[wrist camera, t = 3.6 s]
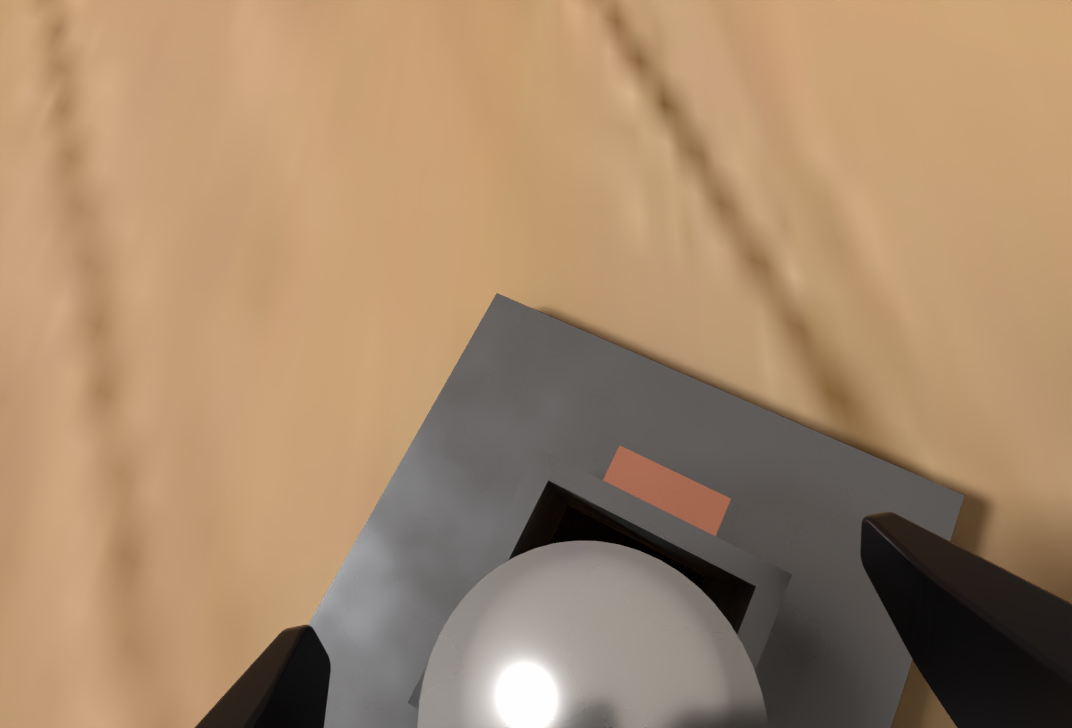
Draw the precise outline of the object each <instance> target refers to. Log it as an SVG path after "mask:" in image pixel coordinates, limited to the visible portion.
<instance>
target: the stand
mask: <svg viewBox="0 0 1072 728" xmlns="http://www.w3.org/2000/svg"><path fill="white" fill-rule="evenodd" d="M964 496H965V495H962V494H960V493H958V492H956V491H953V490H951V489H949V488H946V487H944V486H942V485H939V484H937V483H935V482H932V481H930V480H928V479H925V478H923V477H921V476H919V475H916V474H914V473H912V472H909V471H907V470H905V469H902V468H900V467H898V466H895V465H893V464H891V463H888V462H886V461H884V460H881V459H879V458H877V457H875V456H872V455H870V454H868V453H865V452H863V451H861V450H858V449H856V448H854V447H851V446H849V445H847V444H844V443H842V442H840V441H838V440H835V439H833V438H831V437H828V436H826V435H824V434H821V433H819V432H817V431H814V430H812V429H810V428H807V427H805V426H803V425H801V424H798V423H796V422H794V421H791V420H789V419H787V418H784V417H782V416H780V415H777V414H775V413H773V412H770V411H768V410H766V409H764V408H761V407H759V406H757V405H754V404H752V403H750V402H747V401H745V400H743V399H740V398H738V397H736V396H733V395H731V394H729V393H726V392H724V391H722V390H720V389H717V388H715V387H713V386H710V385H708V384H706V383H703V382H701V381H699V380H696V379H694V378H692V377H689V376H687V375H685V374H683V373H680V372H678V371H676V370H673V369H671V368H669V367H666V366H664V365H662V364H659V363H657V362H655V361H652V360H650V359H648V358H646V357H643V356H641V355H639V354H636V353H634V352H632V351H629V350H627V349H625V348H622V347H620V346H618V345H615V344H613V343H611V342H608V341H606V340H604V339H602V338H599V337H597V336H595V335H592V334H590V333H588V332H585V331H583V330H581V329H578V328H576V327H574V326H571V325H569V324H567V323H565V322H562V321H560V320H558V319H555V318H553V317H551V316H548V315H546V314H544V313H541V312H539V311H537V310H534V309H532V308H530V307H528V306H525V305H523V304H521V303H518V302H516V301H514V300H511V299H509V298H507V297H504V296H502V295H500V294H496V296H495V297H494V299H493V301H492V303H491V304H490V306H489V308H488V310H487V311H486V313H485V315H484V317H483V318H482V320H481V322H480V324H479V325H478V327H477V329H476V331H475V332H474V334H473V336H472V338H471V339H470V341H469V343H468V345H467V347H466V348H465V350H464V352H463V354H462V355H461V357H460V359H459V361H458V362H457V364H456V366H455V368H454V369H453V371H452V373H451V375H450V376H449V378H448V380H447V382H446V383H445V385H444V387H443V389H442V390H441V392H440V394H439V396H438V397H437V399H436V401H435V403H434V405H433V406H432V408H431V410H430V412H429V413H428V415H427V417H426V419H425V420H424V422H423V424H422V426H421V427H420V429H419V431H418V433H417V434H416V436H415V438H414V440H413V441H412V443H411V445H410V447H409V448H408V450H407V452H406V454H405V455H404V457H403V459H402V461H401V463H400V464H399V466H398V468H397V470H396V471H395V473H394V475H393V477H392V478H391V480H390V482H389V484H388V485H387V487H386V489H385V491H384V492H383V494H382V496H381V498H380V499H379V501H378V503H377V505H376V506H375V508H374V510H373V512H372V514H371V515H370V517H369V519H368V521H367V522H366V524H365V526H364V528H363V529H362V531H361V533H360V535H359V536H358V538H357V540H356V542H355V543H354V545H353V547H352V549H351V550H350V552H349V554H348V556H347V557H346V559H345V561H344V563H343V564H342V566H341V568H340V570H339V572H338V573H337V575H336V577H335V579H334V580H333V582H332V584H331V586H330V587H329V589H328V591H327V593H326V594H325V596H324V598H323V600H322V601H321V603H320V605H319V607H318V608H317V610H316V612H315V614H314V615H313V617H312V619H311V621H310V622H309V624H308V625H310V626H311V627H313V629H314V630H315V632H316V634H317V636H318V637H319V639H320V641H321V643H322V645H323V646H324V648H325V650H326V652H327V654H328V656H329V659H330V664H331V673H330V681H329V690H328V698H327V706H326V714H325V723H324V728H418V727H417V726H418V712H419V700H420V695H421V690H422V684H423V679H424V675H425V672H426V668H427V665H428V662H429V659H430V655H431V653H432V650H433V648H434V646H435V644H436V641H437V639H438V637H439V635H440V632H441V631H442V629H443V627H444V626H445V624H446V622H447V621H448V619H449V617H450V615H451V614H452V612H453V611H454V610H455V608H456V607H457V606H458V605H459V603H460V602H461V601H462V599H463V598H464V597H465V595H466V594H467V593H468V592H469V591H470V590H471V589H472V588H473V587H474V586H475V585H476V584H477V583H478V582H479V581H480V580H481V579H483V578H484V577H485V576H487V575H488V574H489V573H490V572H492V571H493V570H494V569H496V568H497V567H498V566H500V565H502V564H503V563H505V562H507V561H509V560H510V559H512V558H514V557H515V556H518V555H520V554H523V553H525V552H527V551H530V550H532V549H535V548H538V547H542V546H546V545H549V543H550V541H551V539H552V537H553V535H554V533H555V531H556V529H557V527H558V525H559V523H560V521H561V519H562V517H563V515H564V513H565V510H566V508H567V506H570V507H572V508H574V509H576V510H578V511H580V512H581V513H583V514H585V515H587V516H589V517H591V518H593V519H595V520H597V521H599V522H601V523H603V524H605V525H607V526H609V527H610V528H612V529H614V530H616V531H618V532H620V533H622V534H624V535H626V536H628V537H630V538H632V539H634V540H636V541H638V542H639V543H641V544H643V545H645V546H647V547H649V548H651V549H653V550H655V551H657V552H659V553H661V554H663V555H665V556H666V557H668V558H670V559H672V560H674V561H676V562H678V563H680V564H682V565H684V566H686V567H688V568H690V569H692V570H694V571H695V572H697V573H699V574H701V575H703V576H705V577H706V579H705V582H704V584H703V587H702V589H701V590H702V591H703V592H704V593H705V594H706V595H707V596H708V597H709V598H710V599H711V600H712V601H713V602H714V604H715V605H716V606H717V607H718V609H719V610H720V611H721V612H722V614H723V615H724V616H725V618H726V619H727V620H728V621H729V623H730V624H731V626H732V628H733V629H734V631H735V632H736V634H737V636H738V637H739V639H740V641H741V642H742V644H743V646H744V648H745V650H746V652H747V655H748V657H749V659H750V661H751V663H752V665H753V668H754V670H755V673H756V676H757V679H758V682H759V685H760V688H761V691H762V695H763V700H764V705H765V710H766V714H767V719H768V728H891V726H892V723H893V720H894V716H895V713H896V710H897V707H898V704H899V701H900V698H901V694H902V691H903V688H904V685H905V682H906V679H907V676H908V672H909V669H910V666H911V663H912V660H913V659H912V657H911V656H910V654H909V652H908V650H907V648H906V647H905V645H904V643H903V641H902V639H901V637H900V635H899V633H898V632H897V630H896V628H895V626H894V624H893V622H892V620H891V618H890V616H889V615H888V613H887V611H886V609H885V607H884V605H883V603H882V601H881V600H880V598H879V596H878V594H877V592H876V590H875V588H874V586H873V584H872V583H871V581H870V579H869V577H868V575H867V573H866V571H865V569H864V567H863V564H862V561H861V556H860V548H861V524H862V520H863V518H864V517H865V516H867V515H872V514H877V513H882V512H893V513H896V514H898V515H900V516H902V517H904V518H906V519H908V520H910V521H912V522H914V523H916V524H917V525H919V526H921V527H923V528H925V529H927V530H929V531H931V532H933V533H935V534H937V535H939V536H941V537H943V538H945V539H947V540H949V541H950V540H951V537H952V534H953V531H954V528H955V524H956V521H957V518H958V515H959V512H960V509H961V506H962V502H963V499H964Z"/></svg>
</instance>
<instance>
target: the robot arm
mask: <svg viewBox="0 0 1072 728" xmlns="http://www.w3.org/2000/svg"><path fill="white" fill-rule="evenodd" d="M860 556H861V561H862V564H863V567H864V569H865V571H866V573H867V575H868V577H869V579H870V581H871V583H872V584H873V586H874V588H875V590H876V592H877V594H878V596H879V598H880V600H881V601H882V603H883V605H884V607H885V609H886V611H887V613H888V615H889V616H890V618H891V620H892V622H893V624H894V626H895V628H896V630H897V632H898V633H899V635H900V637H901V639H902V641H903V643H904V645H905V647H906V648H907V650H908V652H909V654H910V656H911V657H912V659H913V661H914V663H915V664H916V666H917V667H918V669H919V671H920V672H921V674H922V675H923V677H924V678H925V680H926V682H927V683H928V685H929V686H930V688H931V689H932V691H933V692H934V694H935V695H936V696H937V698H938V699H939V701H940V702H941V704H942V705H943V707H944V708H945V710H946V711H947V713H948V714H949V716H950V717H951V719H952V720H953V722H954V723H955V725H956V726H957V728H1072V604H1071V603H1069V602H1067V601H1065V600H1063V599H1061V598H1060V597H1058V596H1056V595H1054V594H1052V593H1050V592H1048V591H1046V590H1044V589H1042V588H1040V587H1038V586H1036V585H1034V584H1032V583H1030V582H1028V581H1026V580H1024V579H1023V578H1021V577H1019V576H1017V575H1015V574H1013V573H1011V572H1009V571H1007V570H1005V569H1003V568H1001V567H999V566H997V565H995V564H993V563H991V562H989V561H988V560H986V559H984V558H982V557H980V556H978V555H976V554H974V553H972V552H970V551H968V550H966V549H964V548H962V547H960V546H958V545H956V544H954V543H952V542H951V541H949V540H947V539H945V538H943V537H941V536H939V535H937V534H935V533H933V532H931V531H929V530H927V529H925V528H923V527H921V526H919V525H917V524H916V523H914V522H912V521H910V520H908V519H906V518H904V517H902V516H900V515H898V514H896V513H893V512H882V513H877V514H872V515H867V516H865V517H864V518H863V520H862V524H861V548H860ZM330 673H331V664H330V659H329V656H328V654H327V652H326V650H325V648H324V646H323V645H322V643H321V641H320V639H319V637H318V636H317V634H316V632H315V630H314V629H313V627H311V626H310V625H302V626H296V627H291V628H287V629H285V630H283V631H282V632H281V633H280V634H279V635H278V636H277V637H276V638H275V639H274V641H273V642H272V643H271V644H270V645H269V646H268V647H267V648H266V649H265V651H264V652H263V653H262V654H261V655H260V656H259V657H258V658H257V659H256V660H255V662H254V663H253V664H252V665H251V666H250V667H249V668H248V669H247V670H246V672H245V673H244V674H243V675H242V676H241V677H240V678H239V679H238V680H237V681H236V683H235V684H234V685H233V686H232V687H231V688H230V689H229V690H228V691H227V693H226V694H225V695H224V696H223V697H222V698H221V699H220V700H219V701H218V702H217V704H216V705H215V706H214V707H213V708H212V709H211V710H210V711H209V712H208V714H207V715H206V716H205V717H204V718H203V719H202V720H201V721H200V722H199V723H198V725H197V726H196V727H195V728H324V723H325V714H326V706H327V698H328V690H329V681H330Z"/></svg>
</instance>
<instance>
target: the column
mask: <svg viewBox="0 0 1072 728" xmlns="http://www.w3.org/2000/svg"><path fill="white" fill-rule="evenodd" d="M417 727H418V728H768V719H767V714H766V710H765V705H764V700H763V695H762V691H761V688H760V685H759V682H758V679H757V676H756V673H755V670H754V668H753V665H752V663H751V661H750V659H749V657H748V655H747V652H746V650H745V648H744V646H743V644H742V642H741V641H740V639H739V637H738V636H737V634H736V632H735V631H734V629H733V628H732V626H731V624H730V623H729V621H728V620H727V619H726V618H725V616H724V615H723V614H722V612H721V611H720V610H719V609H718V607H717V606H716V605H715V604H714V602H713V601H712V600H711V599H710V598H709V597H708V596H707V595H706V594H705V593H704V592H703V591H702V590H701V589H700V588H699V587H698V586H697V585H695V584H694V583H693V582H692V581H690V580H689V579H688V578H686V577H685V576H684V575H683V574H681V573H680V572H679V571H677V570H676V569H674V568H672V567H671V566H669V565H667V564H666V563H664V562H662V561H661V560H659V559H657V558H655V557H652V556H650V555H648V554H646V553H643V552H641V551H639V550H636V549H632V548H629V547H625V546H622V545H619V544H613V543H606V542H600V541H568V542H560V543H554V544H550V545H546V546H542V547H538V548H535V549H532V550H530V551H527V552H525V553H523V554H520V555H518V556H515V557H514V558H512V559H510V560H509V561H507V562H505V563H503V564H502V565H500V566H498V567H497V568H496V569H494V570H493V571H492V572H490V573H489V574H488V575H487V576H485V577H484V578H483V579H481V580H480V581H479V582H478V583H477V584H476V585H475V586H474V587H473V588H472V589H471V590H470V591H469V592H468V593H467V594H466V595H465V597H464V598H463V599H462V601H461V602H460V603H459V605H458V606H457V607H456V608H455V610H454V611H453V612H452V614H451V615H450V617H449V619H448V621H447V622H446V624H445V626H444V627H443V629H442V631H441V632H440V635H439V637H438V639H437V641H436V644H435V646H434V648H433V650H432V653H431V655H430V659H429V662H428V665H427V668H426V672H425V675H424V679H423V684H422V690H421V695H420V700H419V712H418V726H417Z"/></svg>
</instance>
